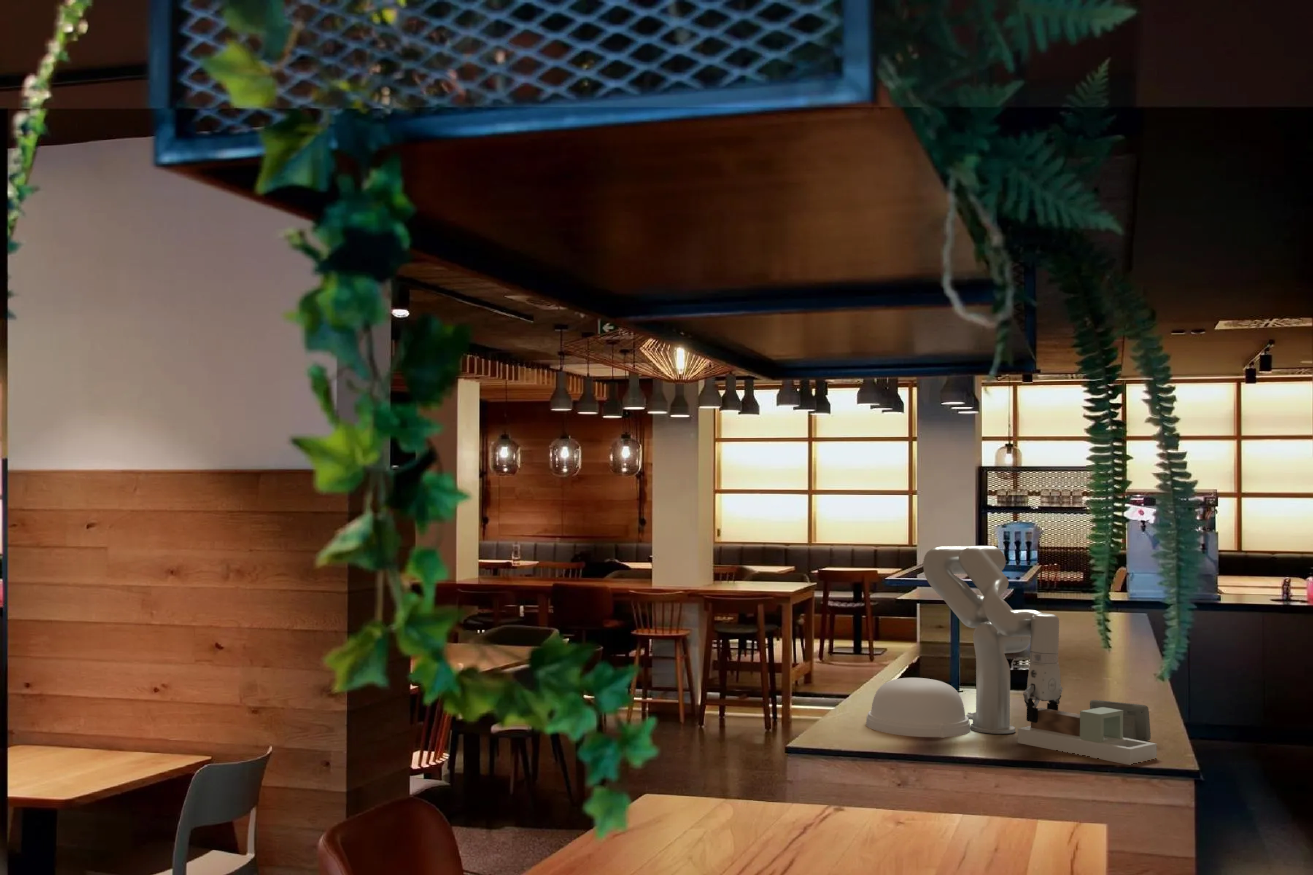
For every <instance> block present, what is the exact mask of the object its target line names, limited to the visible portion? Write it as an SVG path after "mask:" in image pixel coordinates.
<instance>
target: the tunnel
mask: <svg viewBox="0 0 1313 875" xmlns="http://www.w3.org/2000/svg"><path fill="white" fill-rule="evenodd" d="M1079 714H1080V739H1082V740H1088V741H1093V742H1098V743H1102V742H1104V736H1107V737H1112V738H1118V739H1122V738H1123V710H1118V709H1111V708H1105V707H1100V708H1094V709H1090V708H1089V709H1082V710H1080V711H1079Z"/></svg>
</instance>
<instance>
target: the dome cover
mask: <svg viewBox="0 0 1313 875" xmlns="http://www.w3.org/2000/svg"><path fill="white" fill-rule="evenodd" d="M865 720H866V722H865V725H866V727H867V728H868V729H871V730H874V731H877V732H880V733H886V734H890V735H897V736H906V737H917V738H918V737H919V738H944V739H946V738H948V737H958V736H963V735H966V734H968V733H971V728H970V725H971V721H970V719H969V718H968V717H967V716H966V711H965V706H964V703H963V700H962V697H961V695H960V693H959V692H958V690H956V688H954V687H953V686H952V685H950V684H949V683H946V682H944V681H942V680H937V679H932V678H931V679H930V678H923V677H902V678H895V679H891V680H889V681H886V682H883V684H881V685H880V686H879V688H877V690H876V692H875V694H874V696H873V699H872V703H871V710H869V711H868V712H867V715H866V719H865Z"/></svg>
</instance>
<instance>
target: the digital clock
mask: <svg viewBox="0 0 1313 875" xmlns="http://www.w3.org/2000/svg"><path fill="white" fill-rule="evenodd" d="M1100 707H1105V708H1111V709H1118V710H1123V738H1129V739H1134V740H1140V741H1145V742H1150V741H1151V737H1152V735H1151V733H1152V732H1151V725H1150V724H1151V722H1150V711H1149V707H1148V705H1145V704H1138V703H1129V702H1120V701H1119V702H1118V701H1110V700H1103V699H1102V700H1100V699H1091V700H1090V701H1089V709H1094V708H1100Z"/></svg>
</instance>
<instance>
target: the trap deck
mask: <svg viewBox="0 0 1313 875" xmlns="http://www.w3.org/2000/svg"><path fill="white" fill-rule="evenodd" d="M1017 744H1020V745H1027V746H1030V747H1031V746H1033V747H1037V748H1042V749H1046V750H1047V749H1048V750H1052V751H1056V750H1058V751H1057V752H1062V751H1063V753H1067V752H1068V753H1067V754H1072V753H1075V754H1074V755H1077V754H1079V755H1078V756H1082V755H1086V756H1085V757H1087V756H1090V757H1089V758H1091V759H1097V758H1099V759H1098V760H1102V761H1103V760H1104V761H1108V762H1114V763H1118V764H1122V765H1129V766H1131V764H1133V763H1137V764H1139V763H1138V762H1141V761H1146V760H1150V759H1153V758H1158V757H1157V755H1158V754H1157V753H1158V752H1157V751H1158V750H1157V749H1158V748H1157V747H1158V744H1157V743H1155V742H1150V741H1140V740H1134V739H1129V738H1122V739H1118V738H1112V737H1107V736H1104V742H1102V743H1098V742H1093V741H1088V740H1082V739H1080V736H1074V735H1068V734H1063V733H1058V732H1052V731H1047V730H1041V729H1036V728H1031V725H1028V726H1024V727H1023V726H1022V727H1018V728H1017ZM1150 761H1151V760H1150ZM1146 762H1147V761H1146ZM1141 763H1142V762H1141ZM1133 765H1134V764H1133Z"/></svg>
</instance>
